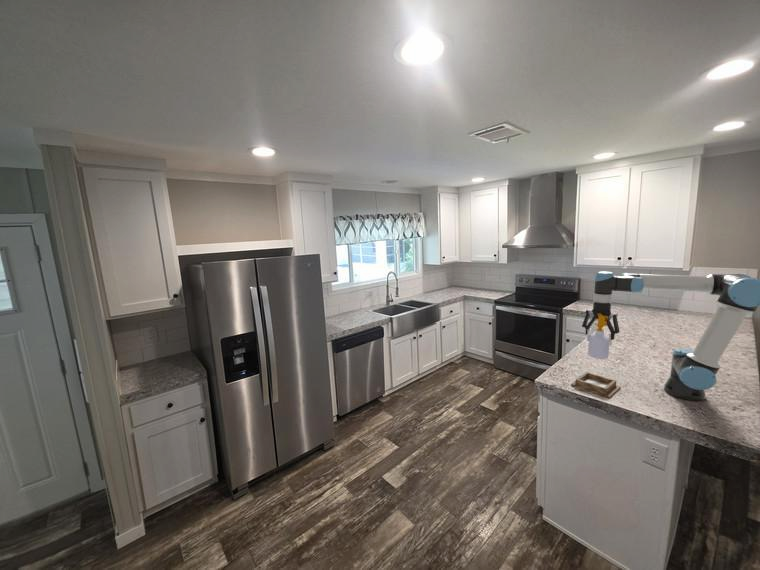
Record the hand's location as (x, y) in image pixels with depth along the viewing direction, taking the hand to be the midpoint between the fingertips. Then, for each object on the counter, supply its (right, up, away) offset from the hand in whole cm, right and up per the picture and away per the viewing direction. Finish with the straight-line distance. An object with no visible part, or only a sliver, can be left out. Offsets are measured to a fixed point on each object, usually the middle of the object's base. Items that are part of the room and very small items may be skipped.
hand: (598, 342), depth 167 cm
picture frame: (+1, -25, +4) cm, 25 cm away
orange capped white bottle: (0, -8, +1) cm, 8 cm away
